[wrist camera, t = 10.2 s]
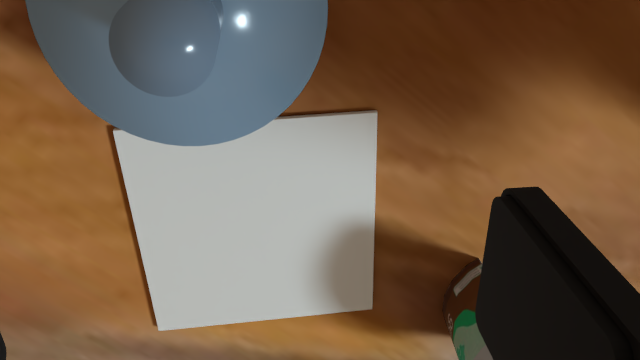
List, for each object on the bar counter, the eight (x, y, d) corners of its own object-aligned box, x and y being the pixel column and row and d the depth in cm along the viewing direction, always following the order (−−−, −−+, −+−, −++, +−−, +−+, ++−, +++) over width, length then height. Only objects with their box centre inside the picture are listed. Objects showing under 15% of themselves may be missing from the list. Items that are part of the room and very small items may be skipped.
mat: (376, 110, 34) (377, 112, 33) (371, 305, 41) (372, 309, 41) (114, 128, 32) (112, 130, 32) (159, 327, 40) (158, 330, 39)
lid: (323, -162, 22) (351, -181, 16) (327, 131, 28) (348, 196, 22) (-10, -158, 21) (-115, -177, 15) (70, 147, 27) (20, 220, 21)
